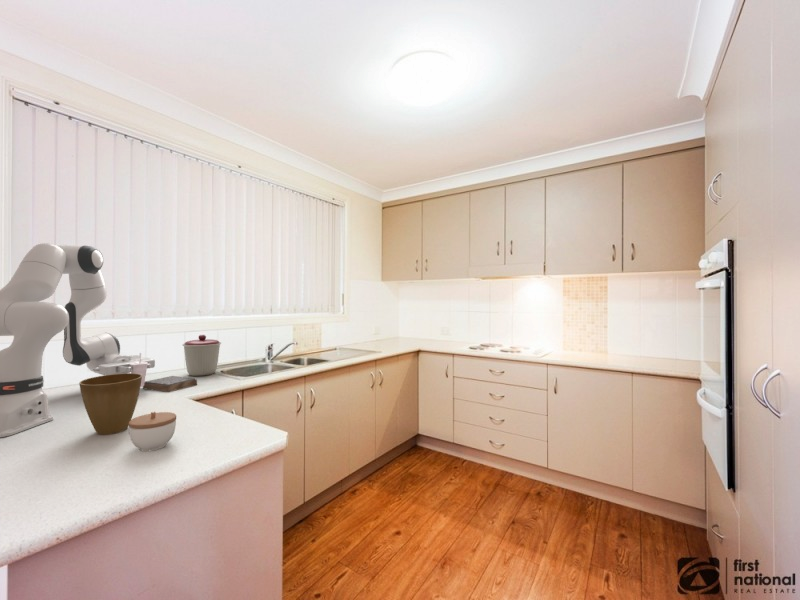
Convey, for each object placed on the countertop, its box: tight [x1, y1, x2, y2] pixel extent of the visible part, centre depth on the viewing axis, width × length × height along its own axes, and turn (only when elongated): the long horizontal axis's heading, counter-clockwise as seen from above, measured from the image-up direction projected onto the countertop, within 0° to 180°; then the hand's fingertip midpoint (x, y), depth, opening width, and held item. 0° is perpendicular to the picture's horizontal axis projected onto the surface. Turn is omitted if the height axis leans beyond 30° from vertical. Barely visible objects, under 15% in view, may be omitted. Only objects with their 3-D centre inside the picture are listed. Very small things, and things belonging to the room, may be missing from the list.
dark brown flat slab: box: [142, 375, 198, 393], centre depth 165 cm, size 14×16×3 cm
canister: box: [182, 334, 222, 377], centre depth 192 cm, size 18×18×21 cm
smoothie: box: [130, 352, 148, 388], centre depth 151 cm, size 6×6×14 cm
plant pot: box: [78, 372, 142, 436], centre depth 110 cm, size 15×15×16 cm
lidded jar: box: [128, 411, 177, 452], centre depth 98 cm, size 11×11×9 cm
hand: (140, 367), depth 151 cm, fingers closed on smoothie, 6 cm apart
